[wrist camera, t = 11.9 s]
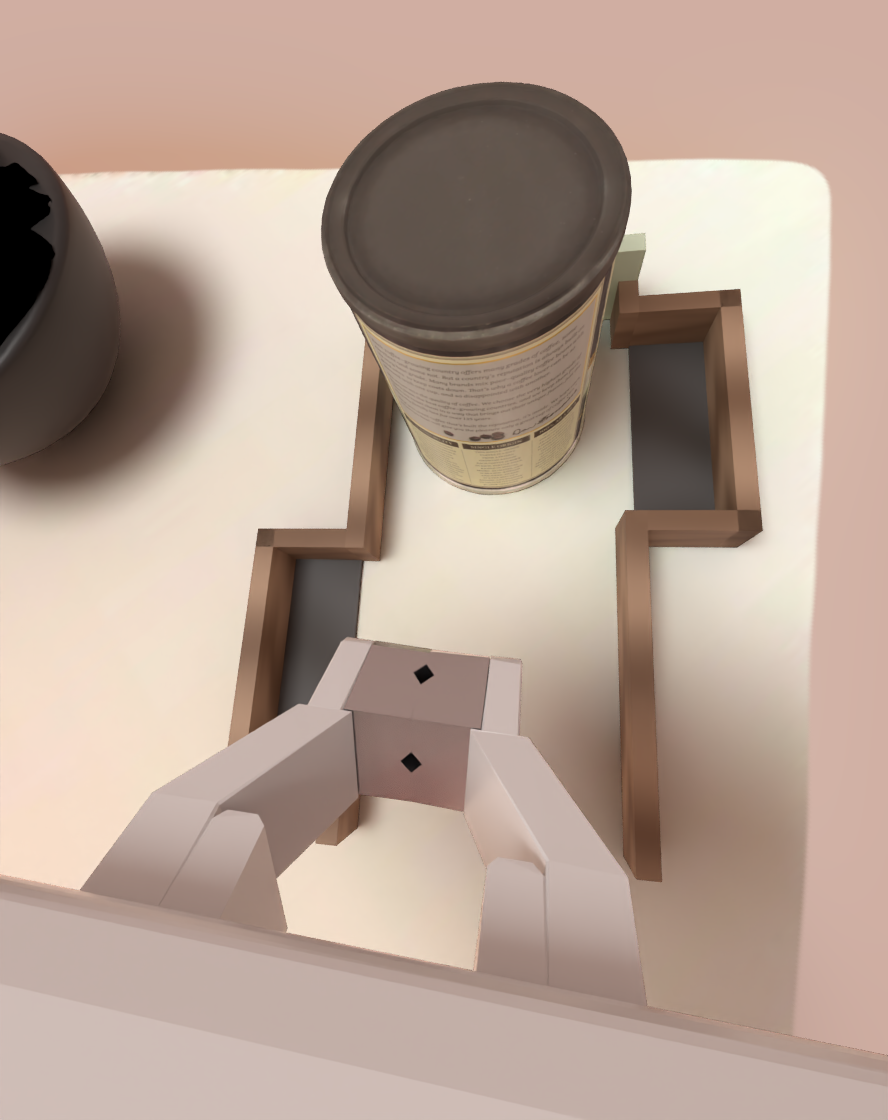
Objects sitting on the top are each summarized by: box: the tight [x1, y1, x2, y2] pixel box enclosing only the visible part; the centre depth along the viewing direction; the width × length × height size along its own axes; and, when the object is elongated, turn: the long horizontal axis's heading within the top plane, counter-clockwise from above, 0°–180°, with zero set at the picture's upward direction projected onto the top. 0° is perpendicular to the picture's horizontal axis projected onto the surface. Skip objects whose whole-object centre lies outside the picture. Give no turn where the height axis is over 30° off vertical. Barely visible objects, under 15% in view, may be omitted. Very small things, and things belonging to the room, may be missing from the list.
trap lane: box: [228, 280, 763, 882], centre depth 27 cm, size 29×25×3 cm
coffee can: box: [321, 82, 632, 494], centre depth 24 cm, size 10×10×14 cm
